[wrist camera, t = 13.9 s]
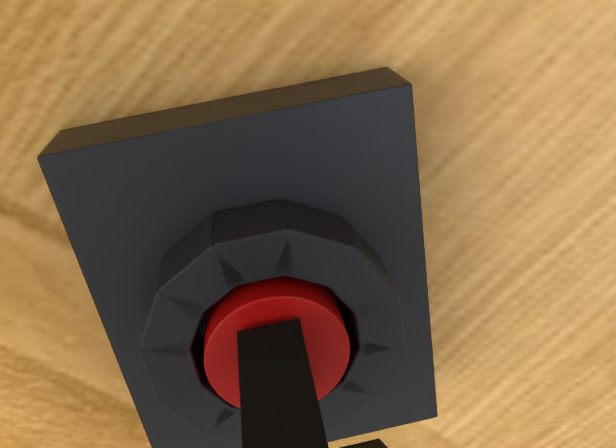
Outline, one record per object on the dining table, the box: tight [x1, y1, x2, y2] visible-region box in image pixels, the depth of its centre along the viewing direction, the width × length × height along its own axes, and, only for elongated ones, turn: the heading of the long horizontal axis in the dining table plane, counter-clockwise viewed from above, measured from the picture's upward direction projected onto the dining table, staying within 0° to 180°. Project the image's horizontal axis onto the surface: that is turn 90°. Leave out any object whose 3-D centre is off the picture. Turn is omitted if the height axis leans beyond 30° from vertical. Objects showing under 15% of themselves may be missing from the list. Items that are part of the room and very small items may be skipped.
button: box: [204, 275, 350, 408], centre depth 15 cm, size 4×4×2 cm
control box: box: [37, 67, 437, 448], centre depth 16 cm, size 11×9×4 cm
